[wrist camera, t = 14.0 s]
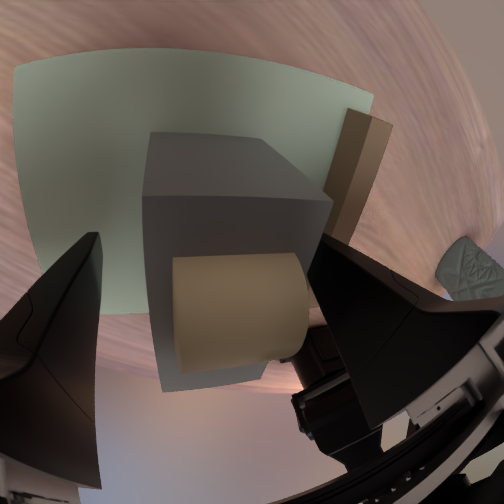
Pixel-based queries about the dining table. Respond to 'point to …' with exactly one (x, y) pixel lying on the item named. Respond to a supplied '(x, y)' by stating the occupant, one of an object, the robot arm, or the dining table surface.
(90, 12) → the dining table surface
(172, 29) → the dining table surface
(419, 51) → the dining table surface
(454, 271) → the grey-green cup
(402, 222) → the dining table surface
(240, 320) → the tape dispenser
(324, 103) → the lid
